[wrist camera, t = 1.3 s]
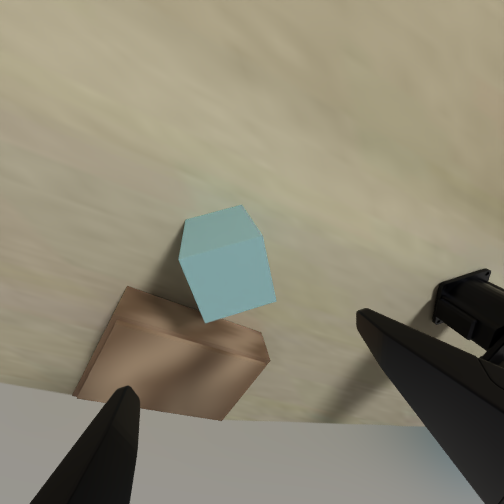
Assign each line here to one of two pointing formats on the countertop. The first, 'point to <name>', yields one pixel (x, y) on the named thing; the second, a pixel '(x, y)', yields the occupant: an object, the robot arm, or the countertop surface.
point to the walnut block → (173, 358)
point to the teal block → (226, 263)
